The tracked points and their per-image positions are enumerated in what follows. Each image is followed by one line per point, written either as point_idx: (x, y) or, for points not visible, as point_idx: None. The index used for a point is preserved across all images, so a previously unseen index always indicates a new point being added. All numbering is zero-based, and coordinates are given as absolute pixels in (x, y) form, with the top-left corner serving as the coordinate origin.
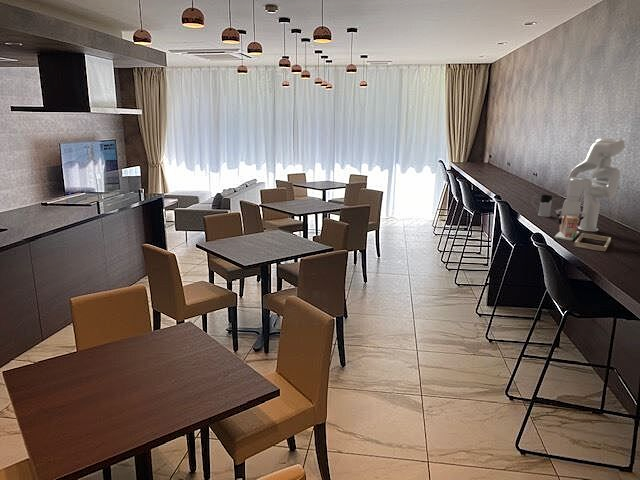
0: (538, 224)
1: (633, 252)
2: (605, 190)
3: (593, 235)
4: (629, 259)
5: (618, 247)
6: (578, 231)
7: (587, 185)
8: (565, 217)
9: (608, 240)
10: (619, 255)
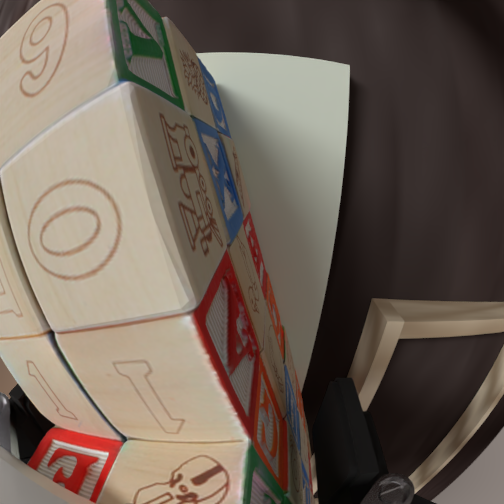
0: (6, 31)
1: (501, 428)
2: None
3: (469, 333)
4: (436, 492)
5: (495, 406)
6: (342, 77)
7: None
8: None
9: (488, 412)
10: (430, 486)
